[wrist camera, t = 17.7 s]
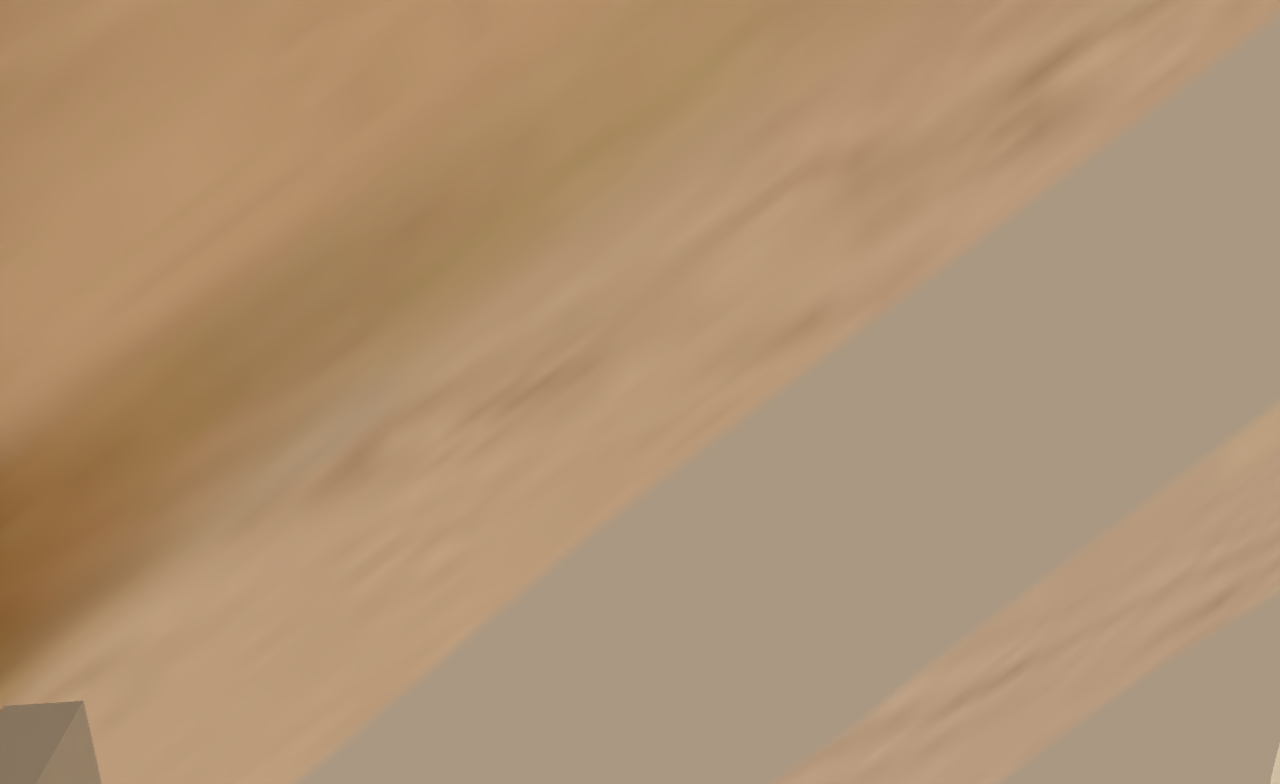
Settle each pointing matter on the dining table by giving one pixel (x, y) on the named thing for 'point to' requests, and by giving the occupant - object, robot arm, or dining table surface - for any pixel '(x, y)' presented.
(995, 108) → the dining table surface
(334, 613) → the dining table surface
